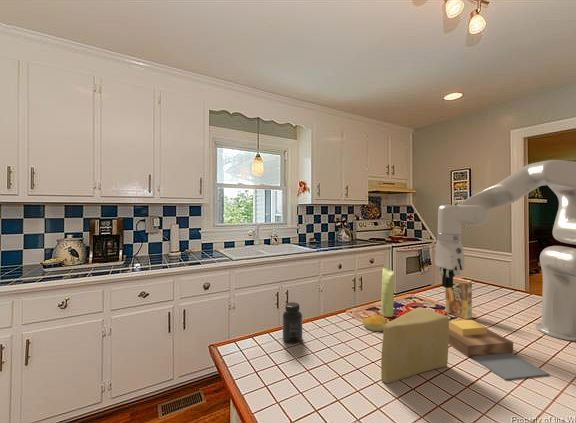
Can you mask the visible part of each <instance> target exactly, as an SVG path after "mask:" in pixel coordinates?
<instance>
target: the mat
mask: <svg viewBox="0 0 576 423" xmlns="http://www.w3.org/2000/svg"><path fill="white" fill-rule="evenodd" d="M471 358H472V359H473V360H474V361H476V362H477V363H479V364H480V365H481V366H483V367H484V368H486V369H488V370H489V371H491V372H492V373H494V374H495V375H496V376H498V377H500V378H501V379H503V380H504V381H508V380H510V381H511V380H517V379H527V378H528V379H529V378H538V377H543V376H544V377H547V376H550V373H549V372H547V371H545V370H543V369H542V368H540V367H538V366H536V365H534V364H532V363H531V362H528V360H525V359H524V358H521V357H520V356H519V355H516V354H514V352H513V353H504V354H493V355H482V356H472V357H471Z"/></svg>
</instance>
